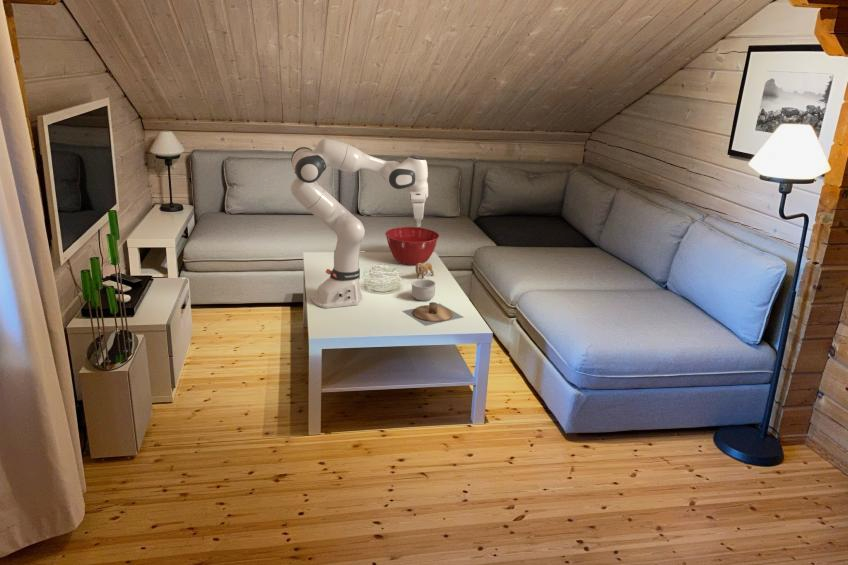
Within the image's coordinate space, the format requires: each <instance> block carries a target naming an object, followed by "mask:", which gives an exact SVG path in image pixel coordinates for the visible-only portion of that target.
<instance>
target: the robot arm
mask: <svg viewBox="0 0 848 565" xmlns="http://www.w3.org/2000/svg"><path fill="white" fill-rule="evenodd" d="M290 161H291V165H292V169H293V171H294V174H295V176H296V178H295V179H294V180H293V181H292V183H291V185H290V192H291V194H292V196H293V197H294V198H295V199H296V200H297V201H298V202H299V203H300V205H302V206H303V207H304V208H305V209H306V210H307V211H309V212H310V213H311V214H312V215H313V216H314V217H316V218H317V219H318V220H319V221H321V223H323V224H324V225H325V226H327V227H328V228H329V229H330V230H331V231H333V232H334V233H335V234H336V238H337V241H336V246H335V248H334V252H333V268H332V270H331V269H329V268H327V269H326V270H325V273H326V274H327V275H329V277H328V278H326V280H325V281H324V282H322V283H320V285H318V287H317V290H316V294H315V295H312V297H311V302H312V304H314V305H316V306H318V307H320V308H324V309H333V308H340V307H351V306H357V305H358V304H359V302H360V301H362V300H363V297H362V294H361V288H360V277H361V276H360V275H361V273H360V272H361V270H360V252H361V246H362V242H363V239H364V237H365V234H366V233H365V232H366V230H365V227H364V224H363V223H362V221H361V220H359V219H358V218H357V217H356V216H355V215H353V214H352V212H350V211H349V210H348V209H347V208H346V207H344V205H342V203H340V202H339V201H338V200H337V199H336V198H335V197H333V195H331V194H330V193H329V192H328V191H327V190H326V189H324V188H323V187H322V186H321V185H320V184H319V183H318V182H317V181H318V180H319V179H320V177H321V176H322V174H323V173H324V172H325V171H326V168H327V167H330V168H334V169H337V170H339V171H342V172H346V173H352V174H353V173H355V172H357V171H359V170H361V169H362V170H366V171H370V172H372V173H376V174H379V175H380V176H381V177H382V178H383V179H384V180H385V181H386V182H387V183H388V184H389V185H390V186H391V187H392V188H394V189H396V190H401V189H403V190H404V189H406V188H407V194H408V195H407V197H408V198H409V199H410V202H411V205H412V211H413V219H414V220H415V221H416V227H419V228H421V226H422V220H423V219H424V212H425V203H426V201H427V198H428V197H429V184H428V177H429V169H428V162H427V160H426V158H424V157H423V156H419V155H415V154H414V155H409V156H408V158H406V159H405V160H404V161H400V160H398V159H394V158H393V159H392V158H390V159H382V158H379V157H375V156H372V155H370V154H366V153H365V152H363V151H362V150H361V149H359V148H357V147H355V146H353V145H350V144H349V143H345V142H342V141H339V140H334V139H329V138H322V139H321V140H319V141H318V142H317V144H316V147H315V148H314V149H311V148H310V147H306V146H301V147H298V148H297V149H295V150H294V151H293V152H292V155H291V160H290Z"/></svg>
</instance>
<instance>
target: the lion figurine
mask: <svg viewBox="0 0 848 565" xmlns="http://www.w3.org/2000/svg"><path fill="white" fill-rule="evenodd" d="M428 271H430V274H431V276H432V277H434V275H435V274H434V270H433V265H432V264H431V263H425V264H424V263H418V264H417V265H415V273H416V274H417V276H416V280H420V275H421V279H422V278H425V276H427V274H428Z"/></svg>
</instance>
